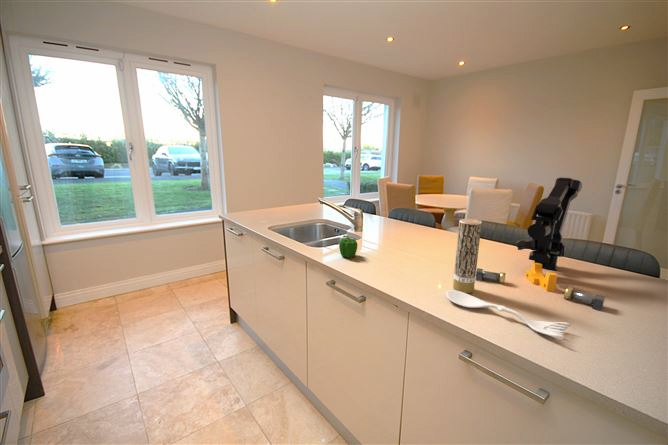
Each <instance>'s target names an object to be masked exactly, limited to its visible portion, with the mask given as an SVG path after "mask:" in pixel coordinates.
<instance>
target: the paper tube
mask: <svg viewBox="0 0 668 445" xmlns="http://www.w3.org/2000/svg"><path fill="white" fill-rule="evenodd" d="M482 223H483V222H482V220H479V219H473V218H461V219H459V221H458V232H457V242H456V243H457V244H456V254H455V264H454V270H453V271H454V274H453V284H452V288H453V290H456V291H460V292H463V293H466V294H471V293H473V292H474V290H475V283H476V271H477V266H478V259H479V258H478V257H479V248H480V242H481V241H480V240H481V232H482Z"/></svg>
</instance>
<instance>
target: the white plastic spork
mask: <svg viewBox="0 0 668 445" xmlns="http://www.w3.org/2000/svg"><path fill="white" fill-rule="evenodd" d="M445 297H446V298H447V299H448V301H451V302H452V303H453V304H456V305H458V306H460V307H464V308H469V309H478V308H494V309H497V310H499V312H505V313H509V314H512V315H514V316H516V317H517V318H519V319H520V320H521V321H522V322H524V323H525V325H527V326H528V327H529V328H530V329H532V330H533V331H535V332H538V334H539V333H540V334H543V335H546V336H549V337H552V338H554V339H559V340H564V339H565V331H567V329H568V328H569V327H570V326H571V324H570V323H569V322H565V321H564V322H563V321H561V322H560V321H557V322H555V321H546V320H542V321H541V320H531V319H529V318H528V317H526V316H524V315H522V314H521V313H520V312H518V311H515V310H514V309H511V308H508V307H507V306H504V305H500V304H494V303H489V302H487V301H484V300H482V299H480V298H478V297H476V296H473V295H472V294H471V295H470V293H463V292H460V291H456V290H455V289H449V290H448V291H446V293H445Z"/></svg>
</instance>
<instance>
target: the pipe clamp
mask: <svg viewBox="0 0 668 445" xmlns="http://www.w3.org/2000/svg"><path fill="white" fill-rule="evenodd" d="M558 276H559V275H558V274H557V273H555V272H546V273H545V276H544V273H543V268H542V264H541V263H535V262H534V261H533V262H532V263H531V269H526V270H525V275H524V277H525V278H526V280H527V281H529V282H530V283H531V284H532V285H537V286H539V287H540V288H542V289H543V290H545V291H546V292H555V291H556V286H557V280H558Z"/></svg>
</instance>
